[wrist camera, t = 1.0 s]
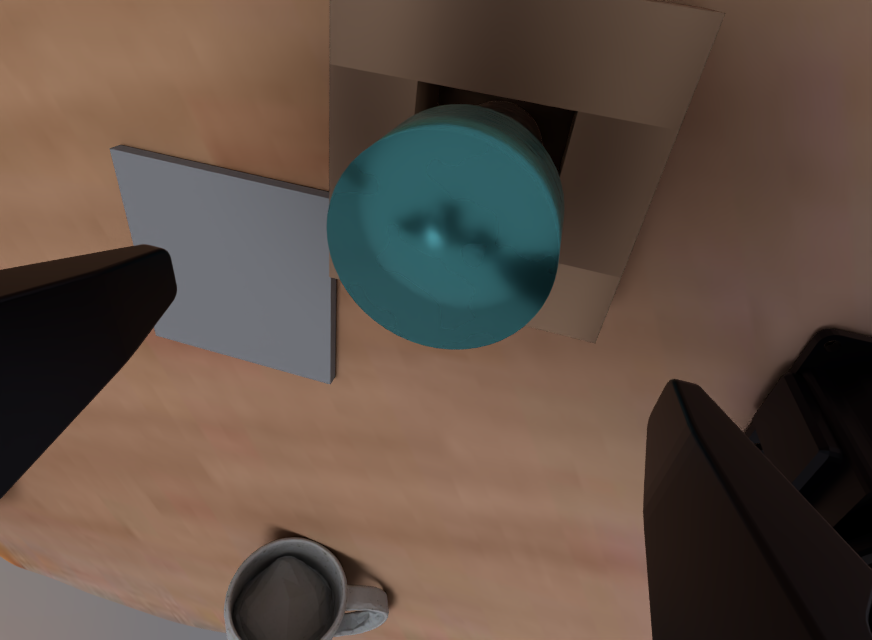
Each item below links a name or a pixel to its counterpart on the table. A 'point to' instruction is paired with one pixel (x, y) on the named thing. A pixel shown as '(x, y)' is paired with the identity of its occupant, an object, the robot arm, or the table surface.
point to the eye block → (543, 84)
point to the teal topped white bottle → (450, 225)
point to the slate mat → (237, 259)
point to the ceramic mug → (298, 596)
